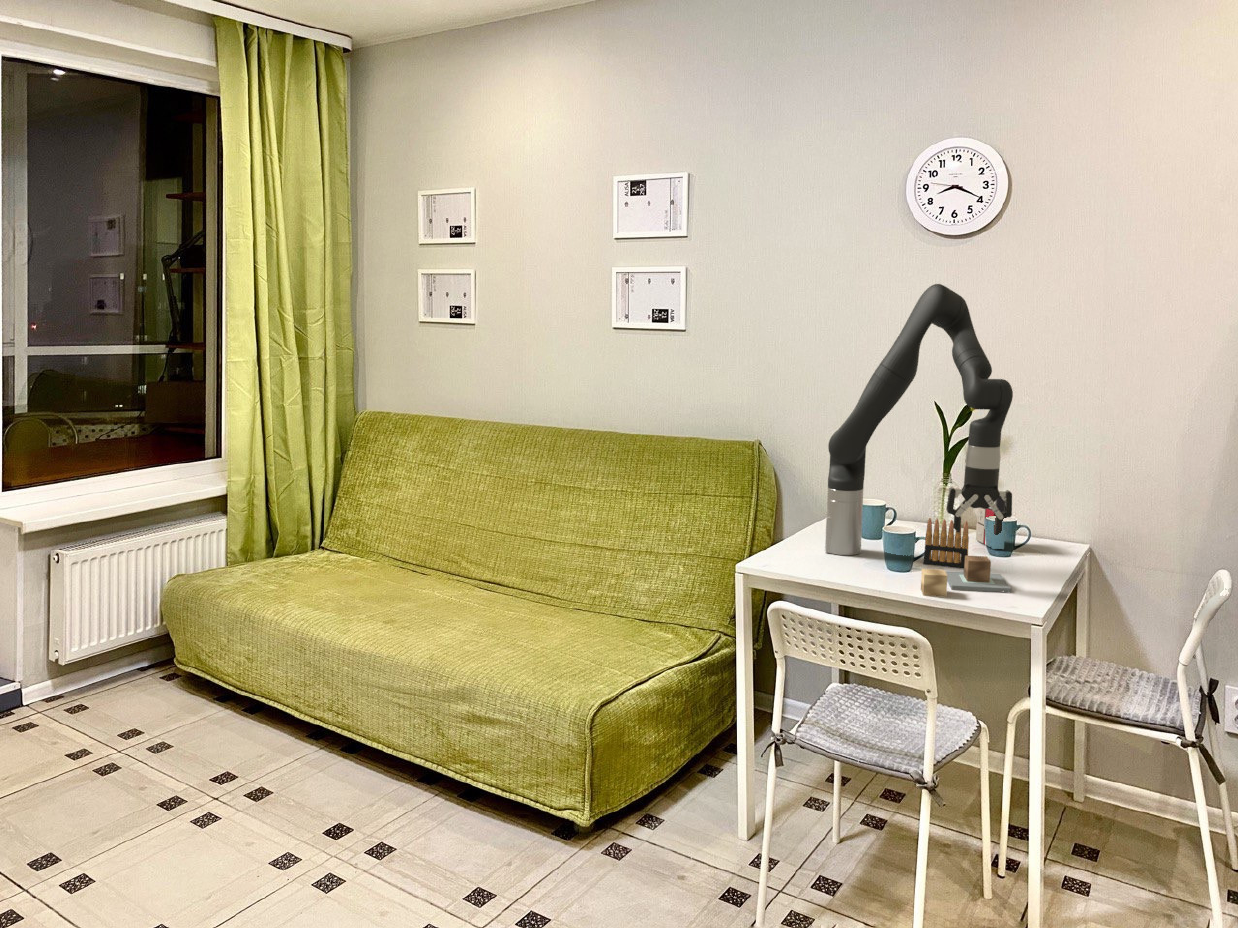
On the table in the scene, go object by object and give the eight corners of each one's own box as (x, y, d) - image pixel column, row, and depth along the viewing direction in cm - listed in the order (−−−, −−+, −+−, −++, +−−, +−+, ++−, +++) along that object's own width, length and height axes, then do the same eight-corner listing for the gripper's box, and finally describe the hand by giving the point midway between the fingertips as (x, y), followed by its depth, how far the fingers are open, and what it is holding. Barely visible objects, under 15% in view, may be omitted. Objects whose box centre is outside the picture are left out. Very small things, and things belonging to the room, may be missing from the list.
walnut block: (967, 581, 237) (968, 560, 237) (963, 575, 242) (965, 555, 242) (989, 582, 237) (990, 561, 236) (985, 576, 242) (987, 556, 241)
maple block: (923, 595, 230) (924, 574, 229) (920, 589, 235) (921, 568, 234) (946, 596, 229) (947, 575, 228) (943, 590, 234) (944, 569, 233)
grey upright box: (974, 541, 283) (977, 488, 281) (988, 540, 283) (992, 488, 281) (991, 550, 272) (994, 495, 270) (1006, 550, 273) (1010, 495, 270)
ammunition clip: (968, 567, 255) (970, 520, 253) (967, 569, 253) (970, 522, 251) (924, 562, 259) (926, 516, 257) (923, 564, 258) (925, 518, 256)
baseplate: (951, 589, 235) (951, 585, 234) (944, 575, 247) (944, 570, 247) (1010, 592, 232) (1010, 587, 232) (1000, 577, 245) (1000, 573, 245)
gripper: (952, 465, 233) (947, 534, 235) (1017, 469, 230) (1011, 538, 232) (948, 460, 240) (943, 527, 242) (1012, 464, 237) (1006, 531, 240)
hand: (977, 533), depth 237 cm, fingers open, 8 cm apart
